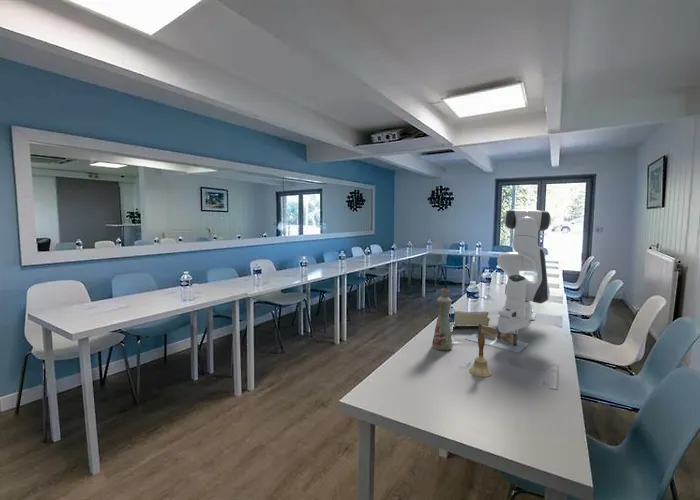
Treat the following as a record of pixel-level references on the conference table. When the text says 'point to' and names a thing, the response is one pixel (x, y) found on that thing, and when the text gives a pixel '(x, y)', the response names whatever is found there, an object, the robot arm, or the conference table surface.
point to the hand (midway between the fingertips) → (513, 338)
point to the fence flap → (509, 338)
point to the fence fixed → (489, 331)
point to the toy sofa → (471, 318)
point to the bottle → (443, 323)
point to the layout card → (499, 343)
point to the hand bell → (480, 361)
